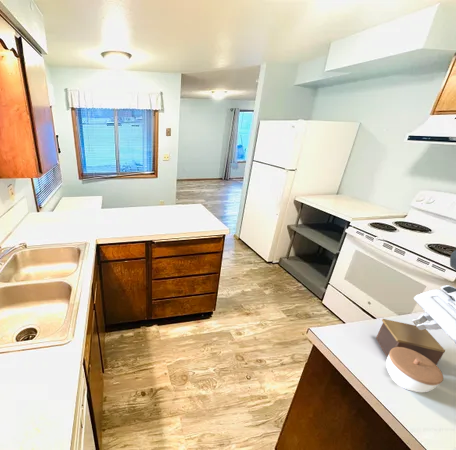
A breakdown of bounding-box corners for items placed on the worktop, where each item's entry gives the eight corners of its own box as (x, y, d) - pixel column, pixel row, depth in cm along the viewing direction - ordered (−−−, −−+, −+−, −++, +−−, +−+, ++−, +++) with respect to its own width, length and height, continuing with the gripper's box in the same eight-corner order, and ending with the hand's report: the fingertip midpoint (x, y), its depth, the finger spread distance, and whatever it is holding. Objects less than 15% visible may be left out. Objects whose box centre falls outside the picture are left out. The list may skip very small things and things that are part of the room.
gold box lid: (396, 341, 74) (397, 339, 74) (381, 320, 82) (382, 318, 82) (444, 352, 70) (445, 350, 70) (423, 329, 79) (424, 327, 79)
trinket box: (385, 388, 69) (399, 367, 65) (375, 357, 77) (387, 337, 73) (437, 407, 64) (455, 386, 60) (420, 372, 73) (435, 352, 69)
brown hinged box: (389, 361, 77) (399, 342, 74) (375, 338, 85) (383, 320, 82) (431, 372, 74) (444, 352, 71) (413, 347, 82) (423, 329, 79)
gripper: (513, 344, 60) (444, 359, 67) (454, 296, 78) (404, 311, 85) (498, 326, 60) (430, 343, 67) (442, 281, 78) (393, 298, 85)
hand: (415, 325), depth 76 cm, fingers closed
